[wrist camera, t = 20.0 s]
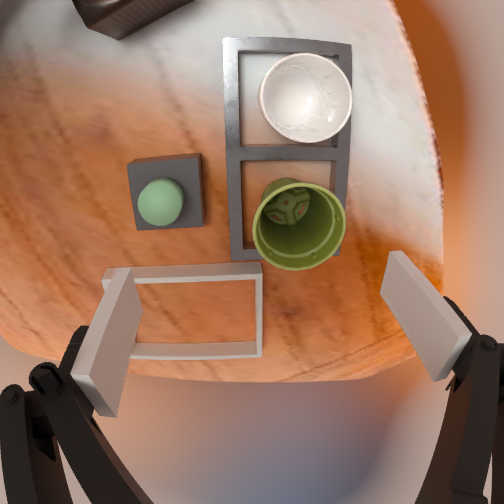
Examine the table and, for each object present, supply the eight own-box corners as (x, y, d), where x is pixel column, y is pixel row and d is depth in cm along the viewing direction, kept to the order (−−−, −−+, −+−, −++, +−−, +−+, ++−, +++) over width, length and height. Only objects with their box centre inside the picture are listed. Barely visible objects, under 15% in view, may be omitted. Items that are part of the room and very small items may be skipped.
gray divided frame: (231, 253, 40) (231, 260, 38) (223, 41, 27) (222, 37, 25) (334, 248, 41) (339, 255, 39) (345, 47, 28) (351, 44, 26)
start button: (151, 211, 35) (141, 227, 31) (146, 174, 33) (134, 185, 28) (188, 208, 35) (183, 224, 31) (185, 170, 33) (178, 181, 29)
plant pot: (267, 150, 34) (279, 166, 26) (335, 183, 36) (362, 208, 29) (235, 218, 38) (236, 252, 30) (300, 245, 40) (317, 281, 32)
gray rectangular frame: (133, 345, 47) (129, 358, 44) (107, 267, 40) (100, 279, 37) (260, 343, 48) (262, 357, 46) (260, 261, 41) (262, 273, 38)
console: (143, 220, 37) (137, 230, 34) (134, 159, 33) (126, 164, 30) (205, 216, 37) (203, 226, 35) (200, 153, 33) (197, 157, 31)
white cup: (312, 137, 33) (341, 152, 25) (246, 123, 32) (251, 132, 23) (326, 75, 30) (361, 69, 21) (259, 59, 29) (270, 43, 20)
